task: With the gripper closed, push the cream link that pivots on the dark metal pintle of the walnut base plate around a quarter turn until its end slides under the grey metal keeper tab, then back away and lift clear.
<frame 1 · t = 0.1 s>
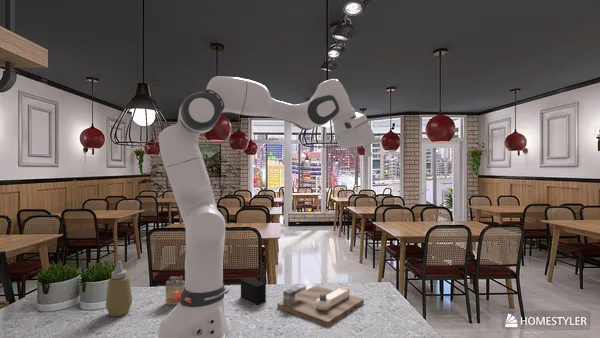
hand: (362, 156, 121), 54 cm above the counter, tool tilted 30°, fingers open, 8 cm apart
squeeze bottle: (119, 313, 114), on the counter
pivot base: (322, 312, 115), on the counter
digital camera: (254, 299, 126), on the counter
link: (333, 298, 120), point 3 cm above the counter, hinge at 0.0°
small jar: (175, 303, 123), on the counter
bracket: (217, 291, 136), on the counter
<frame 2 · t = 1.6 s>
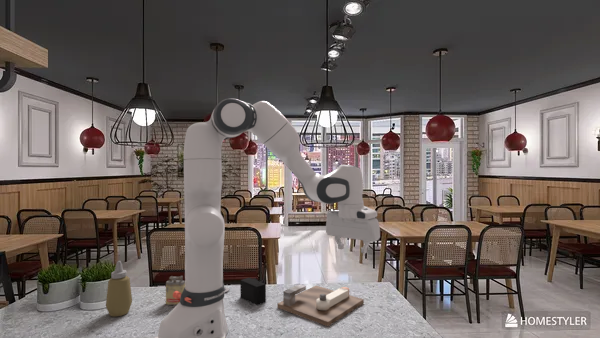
hand: (352, 250, 116), 21 cm above the counter, tool pointing down, fingers open, 8 cm apart
nothing on the counter moved.
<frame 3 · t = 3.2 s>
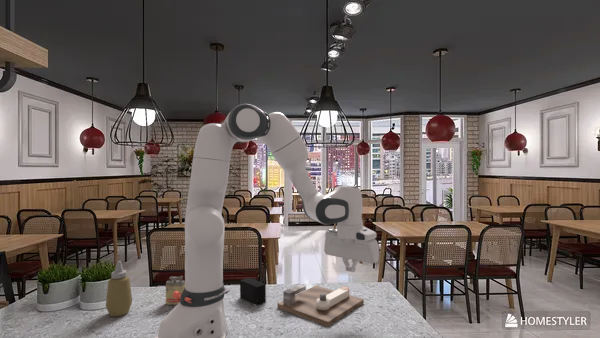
hand: (350, 271, 115), 14 cm above the counter, tool pointing down, fingers closed
nothing on the counter moved.
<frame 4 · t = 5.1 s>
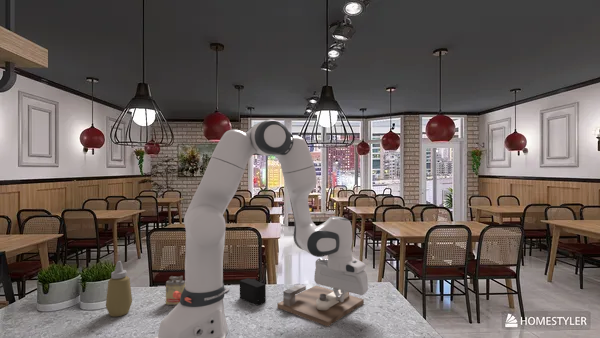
hand: (339, 301, 118), 3 cm above the counter, tool pointing down, fingers closed, pressing on link
link: (333, 298, 120), point 3 cm above the counter, hinge at 0.1°, touching gripper
everything else where it was.
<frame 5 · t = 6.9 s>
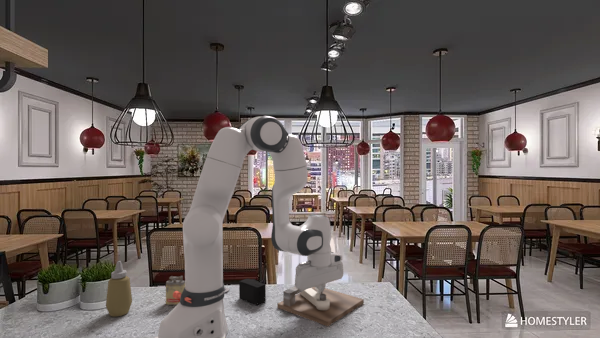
hand: (320, 295, 122), 3 cm above the counter, tool pointing down, fingers closed, pressing on link
link: (313, 297, 121), point 3 cm above the counter, hinge at 65.4°, touching gripper
everything else where it was.
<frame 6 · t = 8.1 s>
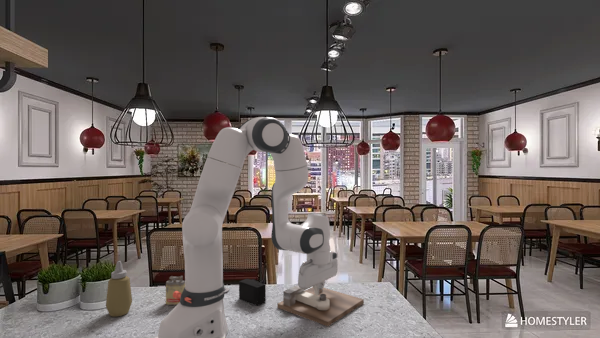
hand: (318, 293, 123), 3 cm above the counter, tool pointing down, fingers closed
link: (308, 298, 119), point 3 cm above the counter, hinge at 86.1°
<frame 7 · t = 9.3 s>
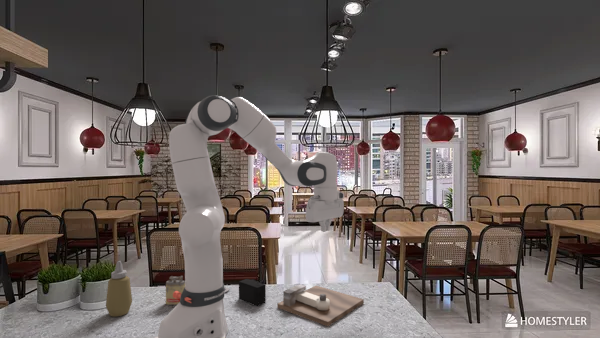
hand: (325, 231, 126), 26 cm above the counter, tool pointing down, fingers closed
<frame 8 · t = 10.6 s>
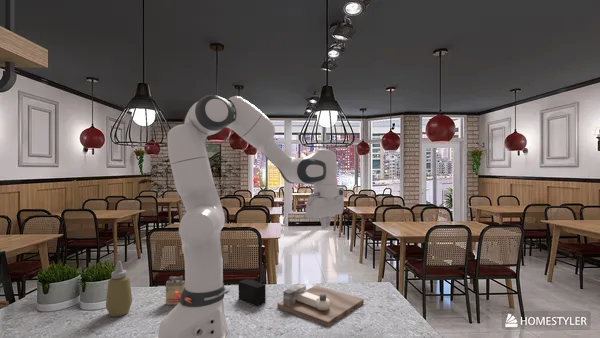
hand: (325, 228, 126), 27 cm above the counter, tool pointing down, fingers closed
at the end: link at +86° (first picture: +0°) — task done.
